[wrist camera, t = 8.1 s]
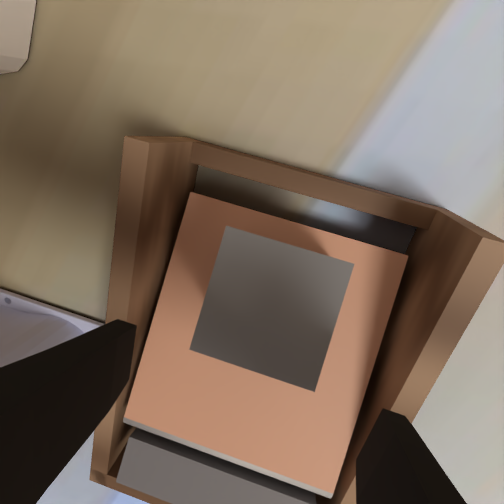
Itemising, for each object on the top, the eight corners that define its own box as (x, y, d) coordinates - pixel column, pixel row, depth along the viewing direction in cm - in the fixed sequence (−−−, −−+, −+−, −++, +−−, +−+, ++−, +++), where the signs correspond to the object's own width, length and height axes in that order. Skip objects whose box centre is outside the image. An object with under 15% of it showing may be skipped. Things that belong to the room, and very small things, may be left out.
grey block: (217, 320, 16) (189, 349, 12) (243, 233, 16) (226, 225, 11) (304, 348, 16) (314, 392, 11) (332, 260, 16) (354, 263, 11)
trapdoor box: (324, 468, 23) (325, 571, 18) (141, 402, 25) (89, 479, 19) (447, 209, 16) (513, 245, 11) (185, 136, 18) (124, 136, 12)
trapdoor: (308, 524, 18) (312, 561, 16) (125, 455, 19) (104, 481, 17) (393, 255, 18) (408, 255, 16) (201, 198, 19) (190, 191, 17)
